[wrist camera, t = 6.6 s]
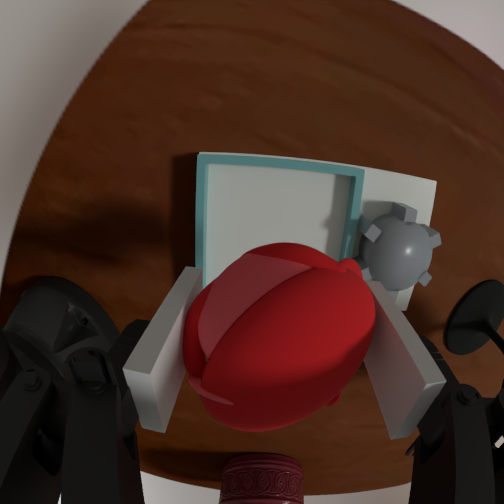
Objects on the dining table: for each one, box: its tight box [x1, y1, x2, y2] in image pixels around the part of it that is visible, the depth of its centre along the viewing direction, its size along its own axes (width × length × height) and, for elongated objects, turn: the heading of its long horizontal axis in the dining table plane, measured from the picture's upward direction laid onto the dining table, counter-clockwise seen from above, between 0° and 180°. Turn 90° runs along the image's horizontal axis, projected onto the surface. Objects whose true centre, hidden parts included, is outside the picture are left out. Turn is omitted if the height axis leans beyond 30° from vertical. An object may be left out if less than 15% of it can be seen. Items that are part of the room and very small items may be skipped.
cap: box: [183, 242, 376, 432], centre depth 10 cm, size 8×6×6 cm
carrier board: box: [195, 152, 441, 311], centre depth 21 cm, size 19×12×4 cm, turn 86°
